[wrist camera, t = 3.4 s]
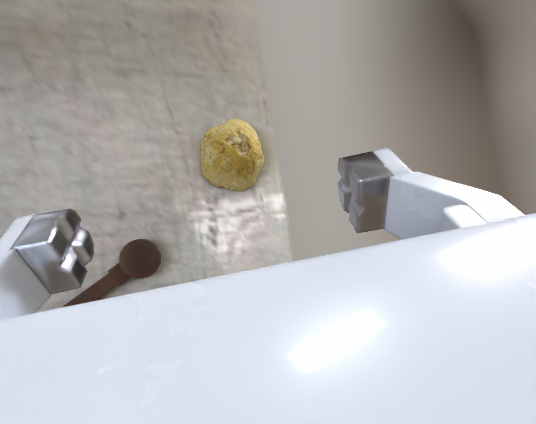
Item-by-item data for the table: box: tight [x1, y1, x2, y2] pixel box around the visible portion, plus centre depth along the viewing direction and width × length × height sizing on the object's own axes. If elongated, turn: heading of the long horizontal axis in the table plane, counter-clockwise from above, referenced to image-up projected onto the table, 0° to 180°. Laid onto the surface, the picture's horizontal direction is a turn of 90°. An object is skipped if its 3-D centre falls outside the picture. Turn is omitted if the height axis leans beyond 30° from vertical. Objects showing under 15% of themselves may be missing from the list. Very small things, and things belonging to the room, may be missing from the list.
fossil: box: [201, 119, 264, 191], centre depth 51 cm, size 11×6×10 cm
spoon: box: [63, 239, 161, 307], centre depth 43 cm, size 19×5×2 cm, turn 129°
